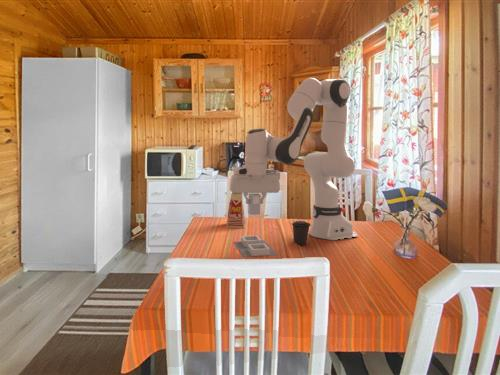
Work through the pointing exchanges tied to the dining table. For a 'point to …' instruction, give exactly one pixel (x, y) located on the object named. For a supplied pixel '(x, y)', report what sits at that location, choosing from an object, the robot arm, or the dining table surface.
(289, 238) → the dining table surface
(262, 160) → the robot arm
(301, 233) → the coffee cup
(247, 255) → the panel
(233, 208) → the milk carton
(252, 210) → the plug
